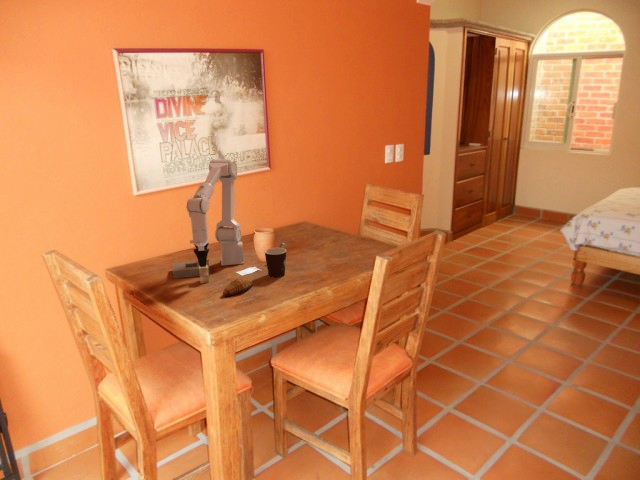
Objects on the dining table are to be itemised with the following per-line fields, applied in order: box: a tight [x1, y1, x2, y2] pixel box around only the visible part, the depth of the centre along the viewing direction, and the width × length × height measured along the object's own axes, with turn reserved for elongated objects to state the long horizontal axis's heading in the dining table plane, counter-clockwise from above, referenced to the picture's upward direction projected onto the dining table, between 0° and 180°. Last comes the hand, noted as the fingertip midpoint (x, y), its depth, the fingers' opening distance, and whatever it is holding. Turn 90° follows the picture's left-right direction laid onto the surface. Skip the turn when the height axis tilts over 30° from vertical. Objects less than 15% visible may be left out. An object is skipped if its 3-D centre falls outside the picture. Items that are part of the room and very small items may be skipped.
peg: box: [199, 265, 210, 284], centre depth 186 cm, size 3×3×6 cm
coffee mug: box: [264, 247, 287, 279], centre depth 191 cm, size 12×9×10 cm
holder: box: [172, 259, 210, 279], centre depth 196 cm, size 14×11×3 cm
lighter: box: [278, 242, 286, 249], centre depth 206 cm, size 7×2×8 cm, turn 131°
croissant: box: [222, 278, 254, 297], centre depth 175 cm, size 14×7×5 cm, turn 140°
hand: (202, 263), depth 184 cm, fingers open, 7 cm apart
